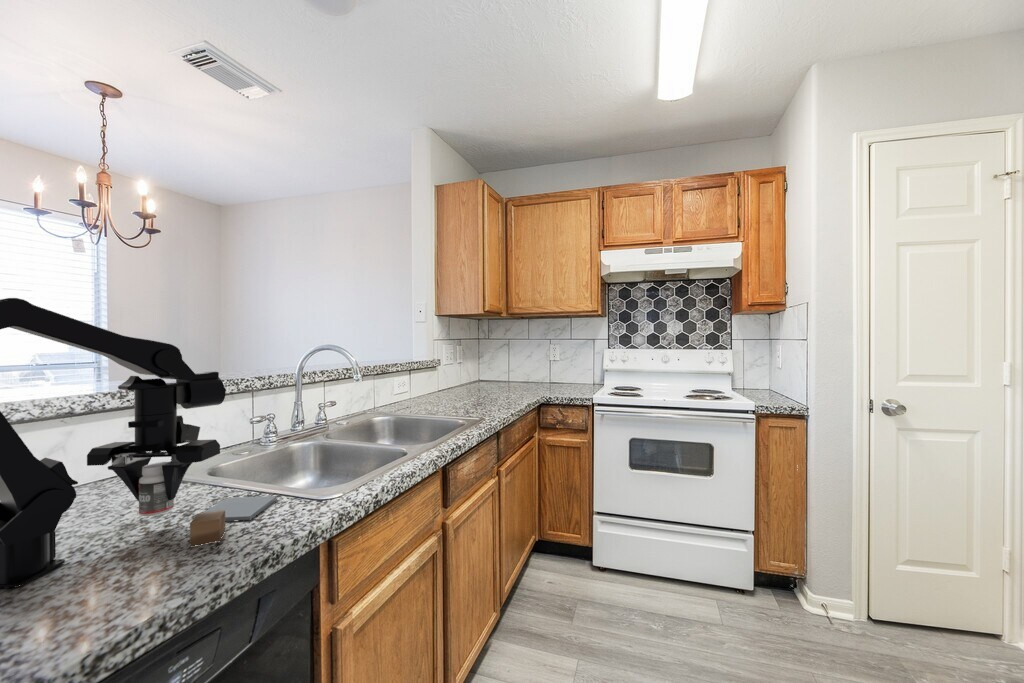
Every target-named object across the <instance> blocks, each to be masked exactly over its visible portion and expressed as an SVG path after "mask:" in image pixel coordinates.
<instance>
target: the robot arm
mask: <svg viewBox="0 0 1024 683" xmlns="http://www.w3.org/2000/svg"><path fill="white" fill-rule="evenodd" d="M6 328H7V329H8V328H10V329H13V330H17V331H20V332H23V333H26V334H30V335H34V336H37V337H41V338H44V339H47V340H51V341H53V342H57V343H60V344H64V345H67V346H69V347H70V346H71V347H74V348H77V349H80V350H83V351H87V352H90V353H94V354H98V355H101V356H103V357H106V358H107V359H110V360H112V361H113V362H115V363H116V364H118V365H119V366H121V367H123V368H126V369H128V370H130V371H132V372H134V373H137V374H139V375H146V376H147V375H148V376H155V377H158V378H147V379H145V378H141V376H138V375H130V376H129V377H128V378H127V380H125V381H124V382H122V383H121V384H119V385H118V386H117V389H118V390H120V391H124V390H125V391H134V393H133V394H134V420H131V421H128V424H127V425H128V426H127V427H128V428H129V429H133V428H134V441H114V442H110V443H106V444H103V445H99V446H96V447H92V448H91V449H90V451H89V452H88V453H87V454H86V466H87V467H88V466H89V467H90V466H105V465H107V464H108V463H109V462H110V461H111V465H108V466H107V470H108V471H113V472H114V473H115V475H116V476H118V478H119V479H120V480H121V481H122V482H123V483H124V485H125V486H126V487H127V488H128V489H129V491H130V492H131V494H132V495H133V497H134V498H135V499H136V500H137V502H139V480H140V478H141V477H143V475H142V467H143V466H145V465H148V464H150V461H151V460H152V458H164V457H165V458H167V457H168V458H169V457H170V458H171V459H170V461H169V462H170V463H167V464H165V465H162V470H163V476H164V483H165V489H166V494H167V497H168V500H172V499H174V500H175V498H176V495H177V493H178V492H179V489H180V486H181V484H182V482H183V479H184V477H185V475H186V473H187V471H188V469H189V468H190V466H191V465H192V464H193V463H200V462H203V461H206V460H208V459H211V458H214V457H215V456H217V455H220V454H221V444H220V443H219V442H218V440H217V439H199V434H200V432H201V426H197V425H193V424H189V423H188V424H187V423H184V417H183V415H177V414H178V412H177V411H178V408H177V407H178V406H177V404H178V405H180V406H181V407H182V408H183V409H186V410H188V409H195V408H196V409H197V408H203V407H211V406H219V405H221V404H222V403H223V402H224V401H225V399H226V392H227V391H226V387H225V385H224V383H223V382H224V381H223V380H222V379H221V378H220V377H219V376H220V375H219V374H220V373H219V372H218V371H204V372H201V373H195V372H194V371H193V370H192V369H191V367H190V366H189V365H188V364H187V363H186V362H185V360H184V359H183V355H182V353H181V349H179V347H177V346H175V345H174V344H172V343H167V342H162V341H156V340H151V339H145V338H138V337H131V336H126V335H123V334H119V333H116V332H115V331H110V330H109V329H108V330H107V329H104V328H102V327H100V326H99V327H98V326H96V325H93V324H90V323H88V322H85V321H81V320H78V319H75V318H72V317H70V316H67V315H63V314H61V313H58V312H55V311H52V310H50V309H47V308H44V307H41V306H38V305H35V304H32V303H31V302H29V301H27V300H25V299H24V298H23V299H22V298H19V297H18V298H17V297H6V298H0V330H3V329H6ZM165 380H175V381H176V382H166V381H165ZM78 484H79V482H78V481H77V480H75V479H73V478H72V477H71V476H70V475H69V473H68V471H67V468H66V466H65V464H64V462H63V461H60V460H57V459H52V458H50V457H49V458H48V457H44V458H42V459H39V458H37V457H36V456H35V455H34V454H33V452H32V451H31V450H30V448H28V446H27V445H26V444H25V442H24V441H23V440H22V438H21V437H20V435H19V434H18V433H17V431H16V430H15V428H14V427H13V426H12V425H11V423H10V422H9V421H8V419H7V418H6V417H5V415H4V414H3V413H2V411H1V410H0V589H2V588H1V587H13V588H16V587H15V586H19V585H22V584H24V585H25V583H26V582H28V581H29V582H31V581H33V580H35V579H37V578H38V576H39V577H41V576H42V574H43V575H44V574H46V573H49V572H50V571H51V570H54V569H56V568H58V567H60V566H61V565H63V564H65V562H66V560H65V559H64V558H57V559H55V558H56V557H57V556H56V551H57V550H56V547H57V546H56V529H57V527H58V524H59V522H60V520H61V517H62V516H63V514H64V513H65V512H67V511H68V510H69V508H70V507H72V506H73V503H74V501H75V499H76V497H77V491H76V489H75V487H74V486H75V485H78ZM40 575H41V576H40ZM36 577H37V578H36ZM34 578H35V579H34ZM32 579H33V580H32ZM30 580H31V581H30ZM29 582H28V583H29ZM26 584H27V583H26ZM22 586H23V585H22ZM19 587H20V586H19Z"/></svg>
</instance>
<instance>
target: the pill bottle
mask: <svg viewBox="0 0 1024 683" xmlns="http://www.w3.org/2000/svg"><path fill="white" fill-rule="evenodd" d="M170 462H171V461H160V462H154V463H148V465H145V466H143V467H142V475H143V477H141V478H140V480H139V501H138V515H139V516H141V517H152V516H153V517H154V516H158V515H162V514H165V513H168V512H170V511H171V510H173V509H174V507H175V505H174V504H175V498H174V499H172V500H168V497H167V494H166V489H165V483H164V476H163V470H162V465H165V464H167V463H170Z"/></svg>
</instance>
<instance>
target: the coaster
mask: <svg viewBox="0 0 1024 683" xmlns="http://www.w3.org/2000/svg"><path fill="white" fill-rule="evenodd" d="M277 499H278V498H277V495H272V496H271V495H270V496H269V495H267V496H245V497H243V496H242V497H241V496H239V497H226V498H225V499H223V500H221V501H220V502H218V503H216V504H214V505H213V506H211V507H210V508H209V509H206V510H205V511H204V512H202V513H208V512H215V511H222V510H225V521H226V522H235V521H234V520H250V521H251V520H253V519H254V518H255V517H256V515H257V516H258V515H259V514H260V513H262V512H263V511H264V510H266V509H267V508H268V507H269V506H271V505H272V504H273V503H275V502H276V501H277ZM253 517H254V518H253ZM252 518H253V519H252Z"/></svg>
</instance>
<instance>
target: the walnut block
mask: <svg viewBox="0 0 1024 683" xmlns="http://www.w3.org/2000/svg"><path fill="white" fill-rule="evenodd" d="M224 532H225V533H226V522H225V510H222V511H215V512H208V513H203V512H202V513H197V514H196V515H195V516H194V518H193V519H192V520H191V522H190V523H189V546H195V545H201V544H205V543H209V542H215V541H220V539H221V537H222V536H223V534H224ZM224 535H225V534H224ZM223 537H224V536H223ZM223 537H222V538H223ZM221 540H222V539H221ZM220 542H221V541H220Z"/></svg>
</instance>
